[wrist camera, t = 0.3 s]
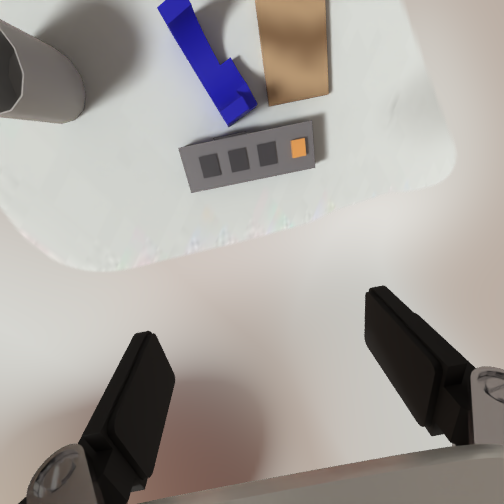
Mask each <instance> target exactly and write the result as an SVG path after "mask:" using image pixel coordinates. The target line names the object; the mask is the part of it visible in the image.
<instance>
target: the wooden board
mask: <svg viewBox="0 0 504 504" xmlns="http://www.w3.org/2000/svg"><path fill="white" fill-rule="evenodd" d="M255 4H256V12H257V19H258V27H259V35H260V42H261V50H262V58H263V65H264V73H265V81H266V88H267V96H268V103H269V106H274V105H279V104H284V103H289V102H294V101H299V100H304V99H309V98H314V97H318V96H323V95H327V94H329V89H328V62H327V36H326V9H325V0H255Z"/></svg>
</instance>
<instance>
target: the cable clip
mask: <svg viewBox="0 0 504 504" xmlns="http://www.w3.org/2000/svg"><path fill="white" fill-rule="evenodd" d="M157 8H158V10H159V12H160V14H161V16H162V17H163V19H164V21H165V23H166V24H167V26H168V28H169V30H170V31H171V33H172V35H173V36H174V38H175V40H176V41H177V43H178V45H179V46H180V48H181V50H182V51H183V53H184V55H185V56H186V58H187V60H188V61H189V63H190V64H191V66H192V68H193V69H194V71H195V73H196V74H197V76H198V78H199V79H200V81H201V83H202V84H203V86H204V87H205V89H206V91H207V92H208V94H209V96H210V97H211V99H212V101H213V102H214V104H215V106H216V107H217V109H218V111H219V112H220V114H221V115H222V117H223V119H224V120H225V122H226V124H227V125H228V127H230V126H231V125H232V124H234V123H235V122H236V121H238V120H239V119H240V118H242V117H243V116H244V115H246V114H247V113H248V112H250V111H251V110H253V109H254V108H255V107H256V106H257V102H256V100H255V98H254V97H253V95H252V93H251V91H250V89H249V87H248V85H247V83H246V82H245V81H244V79H243V78H242V76H241V75H240V73H239V72H238V70H237V68H236V67H235V65H234V63H233V61H232V59H231V58H229V59H228V60H226V61H225V62H224V63H223V64H221V65H220V64H219V62H218V60H217V58H216V57H215V55H214V53H213V51H212V49H211V47H210V45H209V43H208V41H207V39H206V37H205V35H204V33H203V31H202V29H201V27H200V25H199V23H198V20H197V18H196V16H195V13H194V11H193V8H192V5H191V3H190V1H189V0H165V1H164V2H163V3H162V4H161V5H160V6H159V7H157Z"/></svg>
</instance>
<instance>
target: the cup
mask: <svg viewBox="0 0 504 504" xmlns="http://www.w3.org/2000/svg"><path fill="white" fill-rule="evenodd" d="M85 97H86V92H85V89H84V85H83V81H82V77H81V75H80V74H79V72H78V71H77V69H76V68H75V66H74V65H73V63H72V62H71V61H70V59H68V58H67V57H66V56H64V55H63V54H62V53H60V52H59V51H58V50H56V49H55V48H54V47H52V46H50V45H48V44H46V43H44V42H42V41H41V40H39V39H37V38H35V37H33V36H31V35H29V34H27V33H25V32H23V31H22V30H20V29H18V28H16V27H14V26H12V25H10V24H8V23H6V22H5V21H3V20H1V19H0V117H3V118H12V119H21V120H31V121H40V122H49V123H59V124H63V123H66V122H70V121H73V120H75V119H76V118H77V117H78V116H79V115H80V113H81V112H82V111H83V110H84V104H85Z"/></svg>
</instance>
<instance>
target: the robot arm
mask: <svg viewBox="0 0 504 504" xmlns="http://www.w3.org/2000/svg"><path fill="white" fill-rule="evenodd" d="M365 342H366V345H367V347H368V348H369V350H370V351H371V353H372V354H373V356H374V357H375V359H376V360H377V362H378V363H379V365H380V366H381V368H382V370H383V371H384V373H385V374H386V376H387V377H388V379H389V380H390V382H391V383H392V385H393V386H394V388H395V389H396V391H397V392H398V394H399V395H400V397H401V398H402V400H403V401H404V403H405V404H406V406H407V407H408V409H409V410H410V412H411V414H412V415H413V416H414V418H415V420H416V421H417V422H418V424H419V425H420V426H422V427H424V426H425V427H426V429H427V430H428V432H429V433H430V435H431V436H436V435H441V434H445V436H446V437H447V438H448V440H449V441H450V442H451V443H452V447H445V448H439V449H432V450H426V451H419V452H413V453H407V454H401V455H395V456H389V457H384V458H379V459H373V460H367V461H362V462H356V463H350V464H345V465H339V466H334V467H328V468H322V469H317V470H311V471H306V472H301V473H296V474H290V475H284V476H279V477H273V478H268V479H263V480H258V481H252V482H247V483H241V484H236V485H231V486H226V487H220V488H215V489H210V490H204V491H199V492H194V493H189V494H184V495H178V496H173V497H168V498H163V499H158V500H153V501H149V502H144V503H140V504H504V370H503V369H500V368H495V367H479V368H475V367H474V366H473V365H472V364H470V363H469V361H467V360H466V359H465V358H464V357H463V356H462V355H461V354H460V353H459V352H458V351H456V349H454V348H453V347H452V346H451V345H450V344H449V343H448V342H447V341H446V340H445V339H444V338H443V337H441V335H439V334H438V333H437V332H436V331H435V330H434V329H433V328H432V327H431V326H430V325H429V324H428V323H426V322H425V321H424V320H423V319H422V318H421V317H420V316H419V315H417V314H416V313H414V312H412V311H411V310H410V309H409V308H408V307H407V306H406V305H405V304H404V303H403V302H402V301H401V300H400V299H399V298H398V297H396V296H395V295H394V294H393V293H392V292H391V291H390V290H389V289H388V288H387V287H385V286H378V287H373V288H370V289H369V292H366V295H365ZM174 384H175V375H174V373H173V371H172V368H171V366H170V364H169V362H168V360H167V358H166V356H165V353H164V351H163V349H162V347H161V345H160V343H159V341H158V338H157V336H156V335H155V334H154V333H153V334H152V333H151V332H150V331H146V332H141V333H136V334H135V335H134V336H133V338H132V340H131V342H130V344H129V346H128V348H127V350H126V352H125V354H124V355H123V357H122V359H121V361H120V363H119V365H118V367H117V369H116V371H115V373H114V375H113V377H112V379H111V380H110V382H109V384H108V386H107V388H106V390H105V392H104V394H103V396H102V398H101V400H100V402H99V404H98V405H97V407H96V409H95V411H94V413H93V415H92V417H91V419H90V421H89V423H88V425H87V427H86V429H85V431H84V432H83V434H82V437H81V439H80V440H79V442H78V444H69V445H67V446H64V447H62V448H61V449H59V450H57V451H56V452H54V453H53V454H52V455H51V456H50V457H49V458H48V459H46V460H45V461H44V463H43V464H42V465H41V466H40V467H39V468H38V470H37V471H36V473H35V474H34V476H33V477H32V479H31V481H30V484H29V486H28V490H27V495H26V497H25V498H24V499H23V500H22V501H21V502H20V503H19V504H128V503H127V502H128V500H129V496H130V492H134V491H139V490H144V489H145V486H146V483H147V479H148V478H149V477H150V476H151V475H152V473H153V470H154V466H155V462H156V458H157V453H158V449H159V445H160V441H161V437H162V433H163V428H164V425H165V421H166V417H167V412H168V409H169V404H170V400H171V396H172V392H173V388H174Z"/></svg>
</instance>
